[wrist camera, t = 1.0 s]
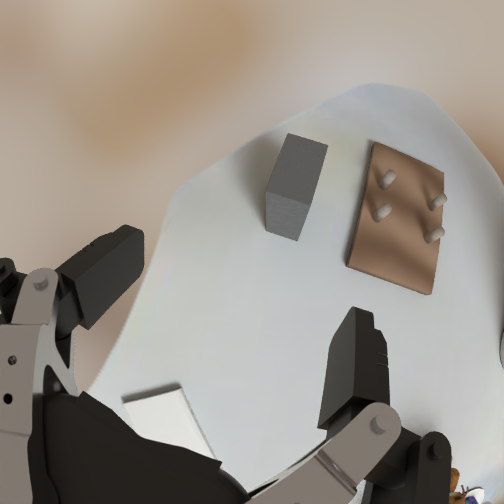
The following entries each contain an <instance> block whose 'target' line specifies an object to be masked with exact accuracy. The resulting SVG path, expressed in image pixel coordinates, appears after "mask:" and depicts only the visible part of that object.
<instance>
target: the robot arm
mask: <svg viewBox="0 0 504 504" xmlns="http://www.w3.org/2000/svg"><path fill="white" fill-rule="evenodd" d="M143 268H144V233H143V231H142V230H140V229H137V228H134V227H132V226H129V225H123V226H121V227H120V228H118V229H117V230H116V231H114V232H113V233H112V232H111V233H108V234H105V235H102V236H100V237H98V238H97V239H95V240H94V241H93V242H91V243H90V245H87V246H86V247H84V248H83V249H82V251H81V250H80V251H79V252H77V253H76V254H75V255H74V256H72V257H71V258H70V259H68V260H67V261H66V262H65V263H63V264H62V265H61V266H60V267H58V268H57V269H55V270H52V269H50V268H40V269H37V270H34V271H32V272H31V273H30V274H28V275H27V274H24V273H20V272H17V271H16V268H15V265H14V262H13V261H12V260H11V259H10V258H0V310H1V314H0V504H348V503H349V502H350V501H351V500H352V499H353V498H354V496H355V495H356V493H357V489H356V487H357V485H358V484H359V483H360V482H361V481H362V480H363V479H364V480H366V484H365V489H364V494H363V498H362V502H361V504H449V496H450V483H451V446H450V443H449V441H448V439H447V438H446V437H445V436H444V435H443V434H442V433H440V432H436V431H433V432H429V433H428V434H426V435H424V436H423V437H421V436H419V435H417V434H415V433H413V432H411V431H409V430H407V429H405V428H403V427H402V426H401V421H400V418H399V416H398V414H397V412H396V411H395V410H394V409H393V408H392V407H390V389H389V368H388V357H387V355H388V354H387V343H386V341H385V339H384V336H383V334H382V332H381V330H377V329H374V317H373V313H372V312H369V311H366V310H363V309H360V308H357V307H354V306H353V307H352V308H351V309H350V310H349V312H348V313H347V315H346V317H345V318H344V320H343V322H342V323H341V325H340V326H339V328H338V330H337V331H336V333H335V334H334V336H333V338H332V341H331V344H330V347H329V353H328V361H327V369H326V376H325V384H324V390H323V397H322V403H321V409H320V415H319V421H318V426H317V428H319V429H324V430H327V436H326V439H325V440H323V441H322V442H321V443H320V444H318V445H317V446H316V447H315V448H313V449H312V450H311V451H309V452H308V453H307V454H306V455H304V456H303V457H302V458H300V459H299V460H298V461H296V462H295V463H294V464H292V465H291V466H289V467H288V468H287V469H285V470H284V471H282V472H281V473H279V474H278V475H276V476H274V477H273V478H271V479H269V480H268V481H266V482H264V483H263V484H261V485H260V486H258V487H256V488H255V489H253V490H251V491H250V492H248V493H247V492H246V490H245V489H244V488H243V487H242V485H241V484H240V483H239V482H238V481H237V480H236V479H235V478H233V477H232V476H231V475H230V474H228V473H227V472H225V471H224V470H222V469H221V468H220V466H221V464H222V462H221V461H218V460H215V459H213V458H210V457H207V456H205V455H202V454H199V453H197V452H194V451H192V450H190V449H187V448H185V447H181V446H176V445H171V444H167V443H162V442H158V441H154V440H150V439H146V438H143V437H141V436H140V435H138V434H137V433H136V432H135V431H134V430H133V429H132V428H130V427H129V426H128V425H127V424H126V423H125V422H124V421H123V420H122V419H121V418H120V417H119V416H118V415H117V414H116V413H115V412H114V411H113V410H112V409H110V408H109V407H107V406H105V405H104V404H102V403H101V402H99V401H98V400H96V399H95V398H93V397H92V396H90V395H89V394H87V393H86V392H84V391H83V392H82V393H81V394H80V396H78V390H77V386H76V382H75V378H74V351H75V329H74V328H75V327H76V326H77V325H78V324H79V325H81V326H82V327H84V328H85V329H87V330H89V329H90V328H91V327H92V326H93V325H94V324H95V323H96V321H97V320H98V319H99V318H100V317H101V316H102V315H103V314H104V313H105V312H106V311H107V310H108V309H109V308H110V306H111V305H112V304H113V303H114V302H115V301H116V300H117V299H118V298H119V297H120V296H121V295H122V294H123V293H124V292H125V291H126V290H127V289H128V288H129V287H130V286H131V285H132V284H133V283H134V282H135V281H136V280H137V279H138V278H139V277H140V275H141V273H142V271H143ZM500 354H501V362H502V365H503V368H504V332H503V336H502V340H501V350H500Z"/></svg>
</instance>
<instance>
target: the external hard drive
mask: <svg viewBox="0 0 504 504" xmlns="http://www.w3.org/2000/svg"><path fill="white" fill-rule="evenodd" d="M121 405H122V407H123V409H124V411H125V414H126V416H127V418H128V420H129V422H130V424H131V426H132V428H133V430H134V431H135V432H136V433H137V434H138V435H140V436H141V437H143V438H146V439H150V440H154V441H158V442H162V443H167V444H171V445H176V446H181V447H185V448H187V449H190V450H192V451H194V452H197V453H199V454H202V455H205V456H207V457H210V458H213V459H215V460H218V459H217V458H216V456H215V454H214V452H213V450H212V448H211V446H210V445H209V443H208V441H207V439H206V437H205V435H204V433H203V431H202V429H201V427H200V425H199V423H198V421H197V419H196V417H195V415H194V413H193V411H192V408H191V406H190V404H189V402H188V400H187V398H186V395H185V393H184V391H183V389H182V387H181V388H178V389H175V390H171V391H167V392H164V393H160V394H156V395H152V396H149V397H145V398H140V399H136V400H132V401H127V402H124V403H122V404H121ZM220 468H221V469H222V470H223V468H222V467H221V466H220Z"/></svg>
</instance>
